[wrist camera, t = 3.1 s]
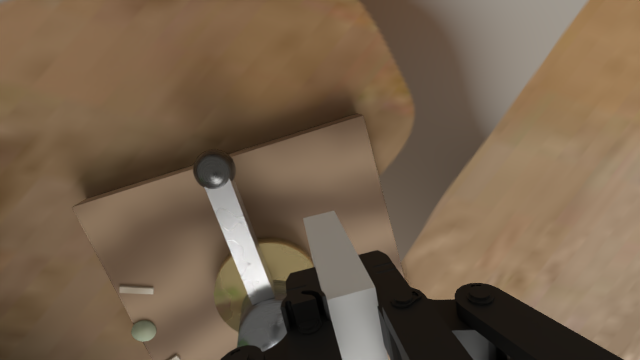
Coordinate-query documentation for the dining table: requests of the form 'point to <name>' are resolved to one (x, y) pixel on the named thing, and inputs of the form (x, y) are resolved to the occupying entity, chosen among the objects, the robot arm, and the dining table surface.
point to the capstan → (247, 260)
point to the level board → (208, 239)
